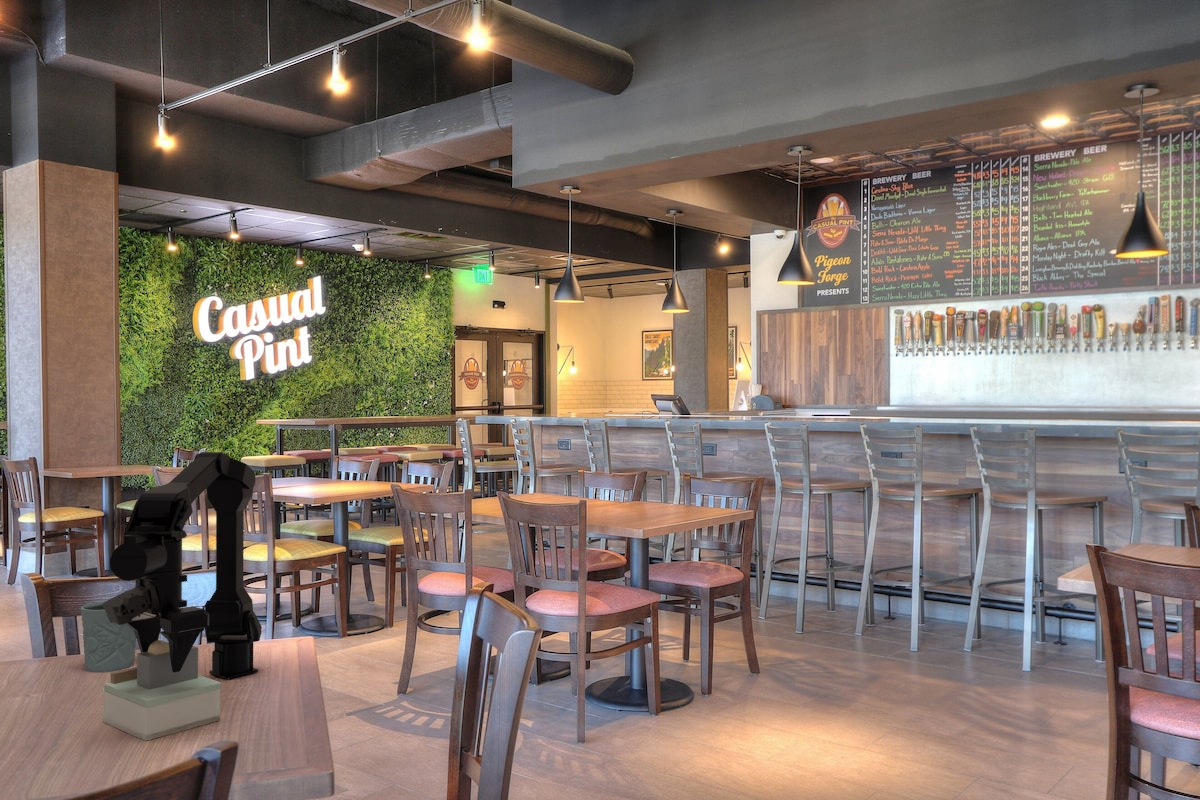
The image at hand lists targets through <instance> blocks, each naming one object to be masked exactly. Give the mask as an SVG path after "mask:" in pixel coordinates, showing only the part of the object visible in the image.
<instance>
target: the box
mask: <svg viewBox="0 0 1200 800" xmlns="http://www.w3.org/2000/svg"><path fill="white" fill-rule="evenodd" d="M220 720H221V689H219V690H215V691H211V692H207V693H203V694H199V695H195V696H191V697H187V698H183V699H179V700H175V701H171V702H167V703H163V704H159V705H155V706H151V707H144V706H142V705H139V704H137V703H134V702H132V701H129V700H127V699H124V698H122V697H119V696H117V695H114V694H112V693H109V692H107V691H104V689H103V691H102V723H104V724H107V725H109V726H112V727H113V728H116V729H118V730H120V731H122V732H124V733H127V734H129V735H131V736H133V737H135V738H139V739H140V740H142V741H145V742H148V741H150V740H154V739H158V738H162V737H165V736H168V735H171V734H175V733H180V732H183V731H186V730H187V731H188V730H190V729H194V728H196V727H200V726H204V725H208V724H210V723H211V724H212V723H216V722H217V721H220Z"/></svg>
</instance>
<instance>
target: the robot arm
mask: <svg viewBox="0 0 1200 800" xmlns="http://www.w3.org/2000/svg"><path fill="white" fill-rule="evenodd" d="M255 485H256V474H255V471H254V470H253V469H252V468H251V467H250V466H249V465H248V464H247V463H245V462H243V461H240V460H238V459H235V458H233V457H231V456H229V454H227V453H225V452H223V451H201V452H200V453H196V455H195V456H194V459H193V461H191V462H190V463H189V464H188V465H187V466H186V467H185V468H183V469H182V470H181V471H180V472H179V473H178V474H177V475H175V477H174V478H172V480H171V481H169V482H168V483H165V484H163V485H159V486H154V487H151V488H149V489H147V490H146V491H144V492H142V493H141V494H140V495H139V497H138V499H137V500H136V502H135V504H134V506H133V509H132V512H131V514H130V517H129V520H128V522H127V525H126V527H125V530H124V533H123V539H122V540H123V543H121V544H119V545H118V546H117V547H115V549H114V550H113V552H112V554H111V557H110V558H109V564H110V570H111V571H112V573H113V574H114V575H115V576H116V577H117V578H118V579H120V580H122V581H124V582H125V581H126V582H130V581H131V582H132V581H135V586H134V587H133V588H131V589H128V590H126V591H123V592H121V593H119V594H117V595H115V596H113V597H112V598H109V599H108V600H105V601H106V602H104V603H103V606H104V609H105V612H106V614H107V617H108V619H109V622H111V623H112V622H114V623H117V624H118V625H123V624H126V625H127V626H129V627H130V628H131V629H133V631H134V633H135V636H136V643H137V645H138V648H139V651H140V653H142V652H147V651H148V648H149V646H150V645H151V644H152V643H153V642H155V641H157V640H159V638H160V634H161V636H163V637H164V638H165V639H166V640H167V641H168V643H169V650H170V659H171V666H172V671H173V672H174V673H175V672H179V671H180V670H181V668H182V666H183V664H184V662H185V660H186V658H187V656H188V654H189V652H190V650H191V648H192V646H194V645H195V642H196V641H197V639H198V637H199V635H201V632H205V633H204V634H205V638H206V643H207V644H211V643H213V644H214V648H213V649H214V650H212V652H211V653H212V654H211V656H212V657H211V670H209V674H210V675H213V676H216V677H220V678H222V679H225V680H230V679H234V678H238V677H242V676H246V675H250V674H254V673H257V672H259V669H258V668H255V667H254V642H255V643H256V642H259V641H260V640H261V635H262V624H261V622H260V621H259V619H258V617H257V615H256V613H255V612H254V607H253V605H254V604H253V603H254V602H253V599H252V597H251V596H250V594H249V593H248V592H247V590H246V588H245V587H244V526H245V525H244V519H245V518H244V512H245V511H244V510H245V509H246V507H247V506H248V504H249V503H250V502H251V500H252V499H253V495H254V488H255ZM205 490H206V499H207V501H208V502H209V504H210V505H211V507H212V508H213V510H214V511H215V531H216V532H215V591H214V592H213V594H212V595H211V597H210V599H208V600H207V601H206V602H205V604H204V608H201V607H197V606H193V605H192V606H188V600H187V599H183V597H182V596H183V592H182V591H183V588H182V587H183V583H185V582H188V575H187V574H183V539H185V538H187V536H188V535H187V532H186V531H185V530H184V528H185V525H186V524H187V521H189V519H190V517H191V516H192V514H193V511H194V510H193V503H194V501H195V500H197V499H198V497H200V495H201V494H202V493H203V492H204V491H205Z"/></svg>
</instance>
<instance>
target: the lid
mask: <svg viewBox="0 0 1200 800" xmlns="http://www.w3.org/2000/svg"><path fill="white" fill-rule="evenodd" d="M219 689H220V690H222V682H221V681H218V680H215V679H212V678H209V677H207V676H203V675H200V674H198V678H196V679H192V680H188V681H184V682H179V683H175V684H171V685H167V686H162V687H158V688H154V689H150V690H149V689H146V688H144V687H141V686H138V685H137V666H136V667H131V668H130V667H129V668H125V669H121V670H117V671H111V672H110V682H109V683H108V682H107V683H104V685H103V690H104V691H107V692H109V693H112V694H114V695H117V696H119V697H122V698H124V699H127V700H129V701H132V702H134V703H137V704H139V705H142V706H144V707H151V706H155V705H159V704H163V703H167V702H171V701H175V700H179V699H183V698H187V697H191V696H195V695H199V694H203V693H207V692H211V691H215V690H219Z"/></svg>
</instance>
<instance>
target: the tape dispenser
mask: <svg viewBox="0 0 1200 800" xmlns="http://www.w3.org/2000/svg"><path fill="white" fill-rule="evenodd" d="M136 667H137V685H138V686H141V687H144V688H146V689H149V690H150V689H154V688H158V687H162V686H167V685H171V684H175V683H179V682H184V681H188V680H192V679H196V678H198V675H199V647H198V646H195V645H193V646H192V648H191V650H190V652H189V654H188V656H187V658H186V660H185V662H184V664H183V666H182V668H181V670H180V671H179V672H175V673H174V672H173V671H172V666H171V659H170V650H169V642H167V641H163V640H161V639H158V640H157V641H155V642H153V643H152V644H151V645H150V646H149V648H148V651H147V652H142V653H141V652H139V653H136Z"/></svg>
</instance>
